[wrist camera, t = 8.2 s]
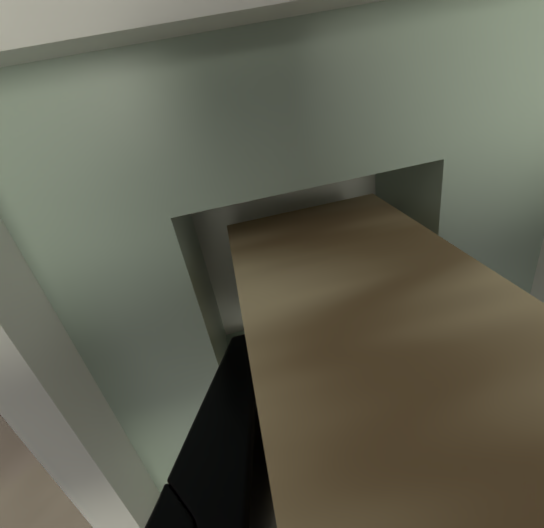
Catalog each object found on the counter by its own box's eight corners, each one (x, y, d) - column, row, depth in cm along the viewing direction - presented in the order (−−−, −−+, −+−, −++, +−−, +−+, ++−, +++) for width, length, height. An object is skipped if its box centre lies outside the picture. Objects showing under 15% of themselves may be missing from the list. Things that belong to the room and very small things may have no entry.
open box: (489, -41, 10) (813, -181, 5) (448, 335, 17) (562, 450, 11) (-20, 46, 9) (-347, -11, 4) (157, 410, 15) (134, 577, 10)
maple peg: (372, 193, 9) (889, 524, 2) (375, 312, 11) (661, 689, 4) (226, 225, 9) (310, 717, 2) (254, 342, 11) (348, 802, 4)
